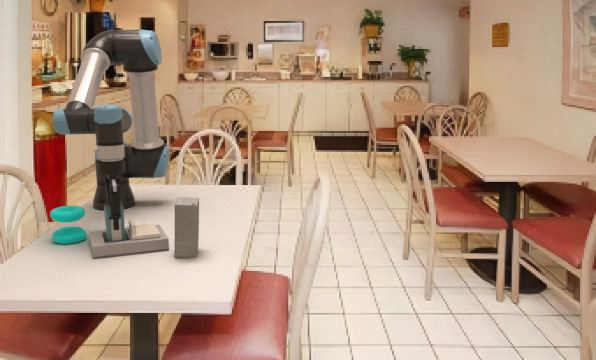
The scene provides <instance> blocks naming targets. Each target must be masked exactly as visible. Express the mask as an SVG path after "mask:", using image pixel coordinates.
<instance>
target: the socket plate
mask: <svg viewBox="0 0 596 360" xmlns="http://www.w3.org/2000/svg"><path fill="white" fill-rule="evenodd" d="M155 226H156V228H157V229H158V231H159V232H160V237H155V238H145V239H136V240H132V238H131V236H130V234H129V232H128V229H127V227H125V240H126V241H118V242H109V243H106V229H101V230H91V231H89V232H88V235H89V236H88V239H89V240H88V241H89V245H90V246H89V247H90V250H91V254H92V259H93V260H96V259H104V258H113V257H122V256H130V255H132V256H133V255H138V254H148V253H156V252H157V253H158V252H164V251H166V252H167V251H170V243H169V238H168V235H167V234H166V233H165V231H164V230H163V228H162V226H161V225H160V224H155Z"/></svg>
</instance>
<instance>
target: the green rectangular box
mask: <svg viewBox="0 0 596 360" xmlns="http://www.w3.org/2000/svg"><path fill="white" fill-rule="evenodd" d="M120 210H121V235H122V240H116V241H112V235H111V219H110V220H109V217H111V209H110V203H107V204H104V210H103V211H104V223H105V225H104V226H105V230H106V243H109V242H118V241H126V240H125V228H126V225H125V209H124V206H123V204H122V202H120Z"/></svg>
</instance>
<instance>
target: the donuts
mask: <svg viewBox="0 0 596 360" xmlns="http://www.w3.org/2000/svg"><path fill="white" fill-rule="evenodd" d="M85 215H86V210H85V209H84V207H82V206H79V205H63V206H62V205H61V206H59V207H55V208H53V209H52V210H50V213H49V216H50V218H51V219H52V220H53V221H54V222H57V223H73V222H77V221H79V220H81V219H82V218H84V217H85ZM87 235H88V233H87V230H85V229H84V228H82V227H80V226H65V227H60V228H58V229H57V230H54V231H53V233H52V236H51V239H52V241H53V242H54V243H56V244H61V245H69V244H70V245H72V244H76V243H80V242H83V241H84V240H85V239H86V238H87Z"/></svg>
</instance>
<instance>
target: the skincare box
mask: <svg viewBox="0 0 596 360" xmlns="http://www.w3.org/2000/svg"><path fill="white" fill-rule="evenodd" d="M199 225H200V198H199V197H189V196H187V197H186V196H185V197H184V196H178V197H177V198H176V200H175V202H174V251H173V254H174V255H173V256H174V258H178V259H179V258H180V259H181V258H187V259H188V258H189V259H191V258H193V259H194V258H198V253H199V239H200V236H199V234H200V233H199V232H200V231H199V230H200V227H199Z"/></svg>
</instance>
